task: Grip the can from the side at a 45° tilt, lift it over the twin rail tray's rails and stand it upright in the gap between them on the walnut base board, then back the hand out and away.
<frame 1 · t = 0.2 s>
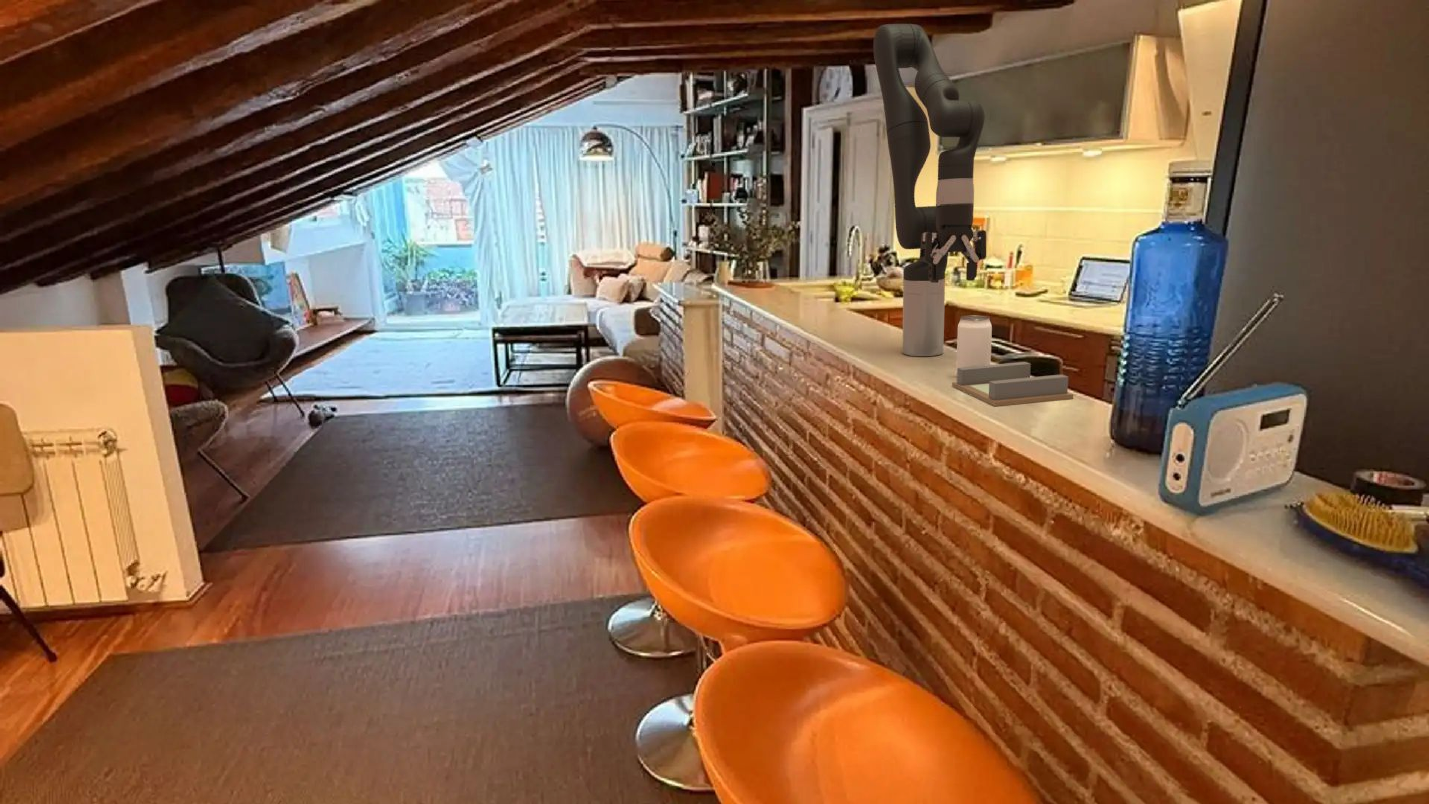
hand: (952, 281, 167), 18 cm above the counter, tool pointing down, fingers open, 8 cm apart
twin rail tray: (1009, 392, 147), on the counter
can: (973, 377, 160), on the counter
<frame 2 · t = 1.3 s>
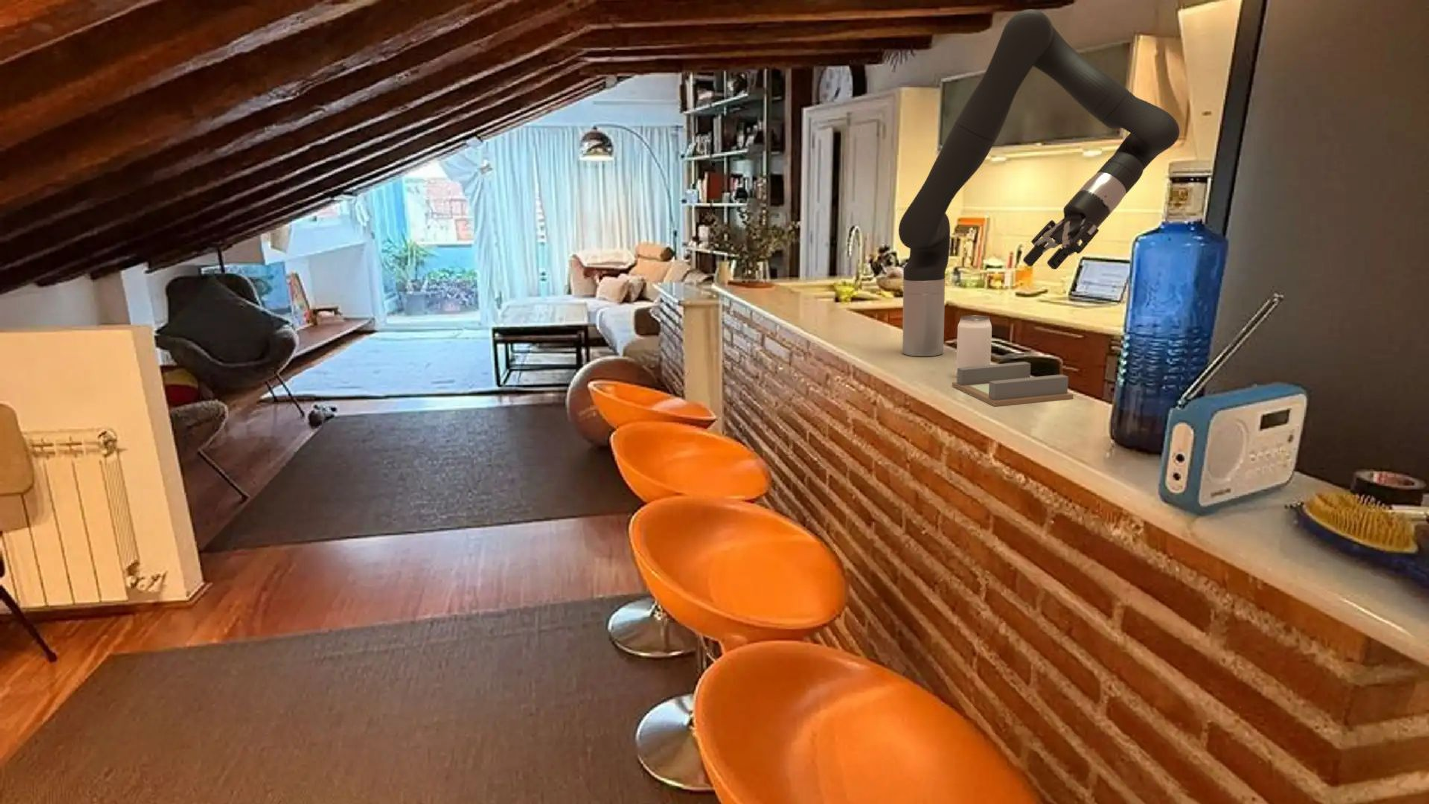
hand: (1038, 265, 157), 21 cm above the counter, tool tilted 45°, fingers open, 8 cm apart
nothing on the counter moved.
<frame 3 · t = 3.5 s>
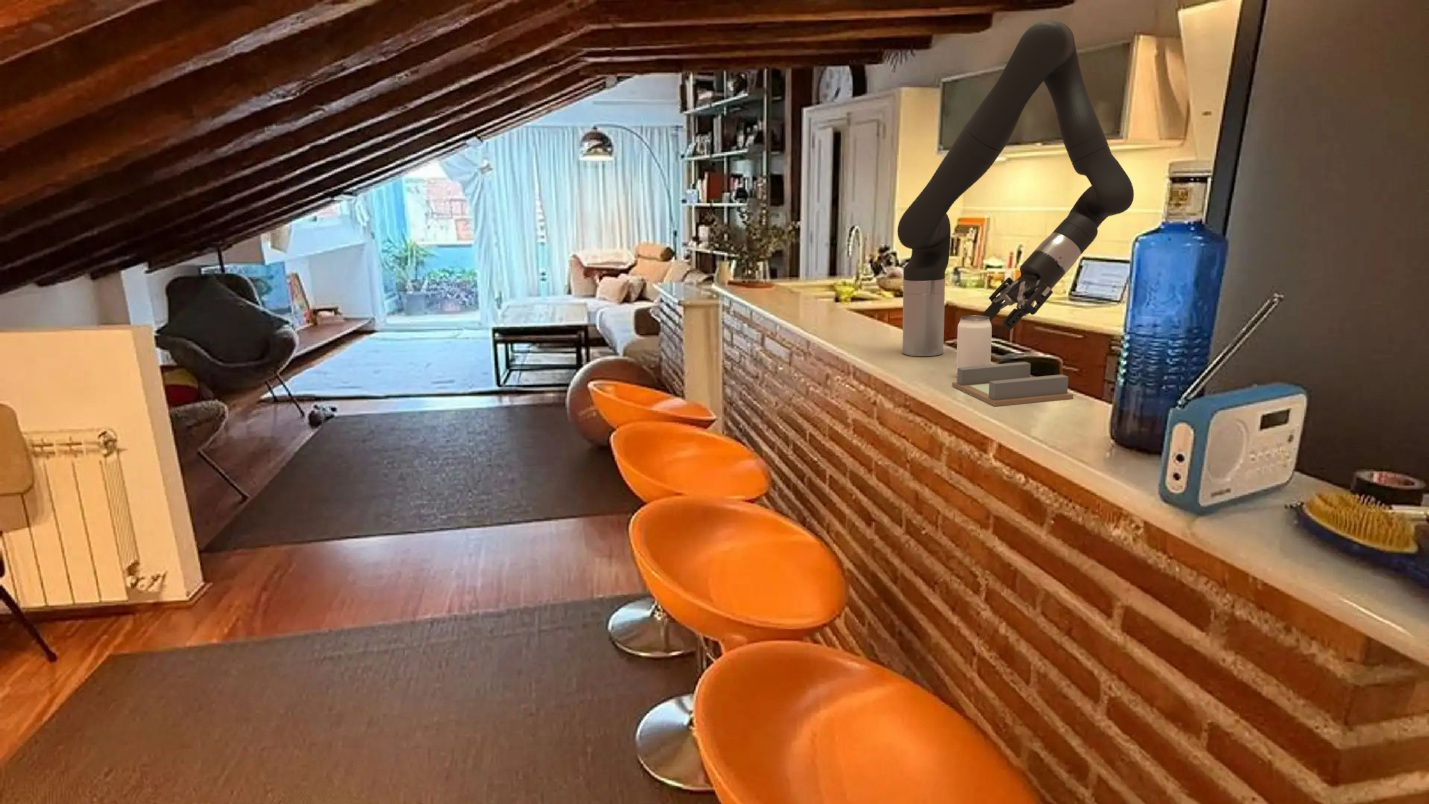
hand: (994, 323, 158), 10 cm above the counter, tool tilted 45°, fingers open, 8 cm apart
nothing on the counter moved.
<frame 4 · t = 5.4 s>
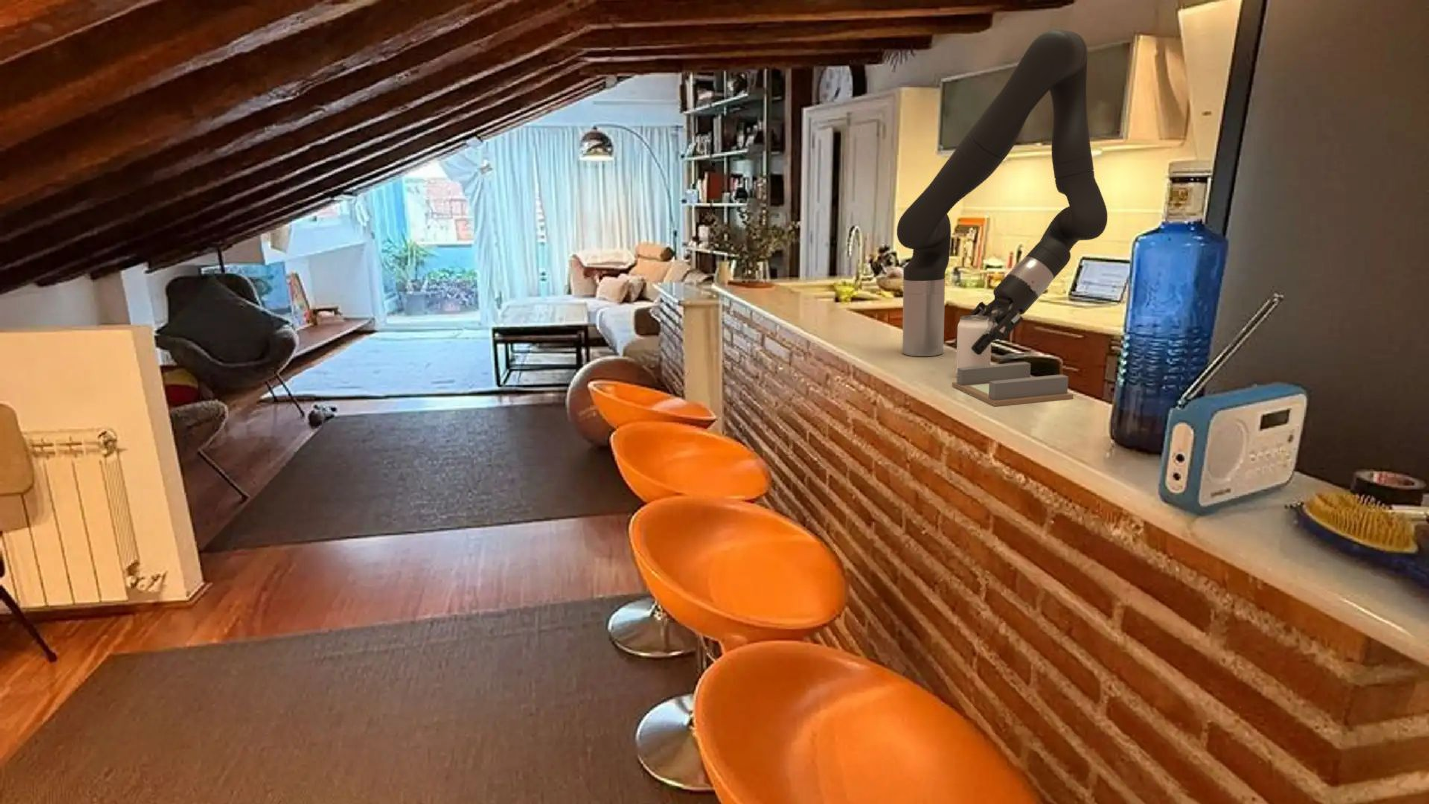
hand: (966, 348, 159), 6 cm above the counter, tool tilted 45°, fingers closed on can, 6 cm apart
can: (972, 377, 160), on the counter, touching gripper
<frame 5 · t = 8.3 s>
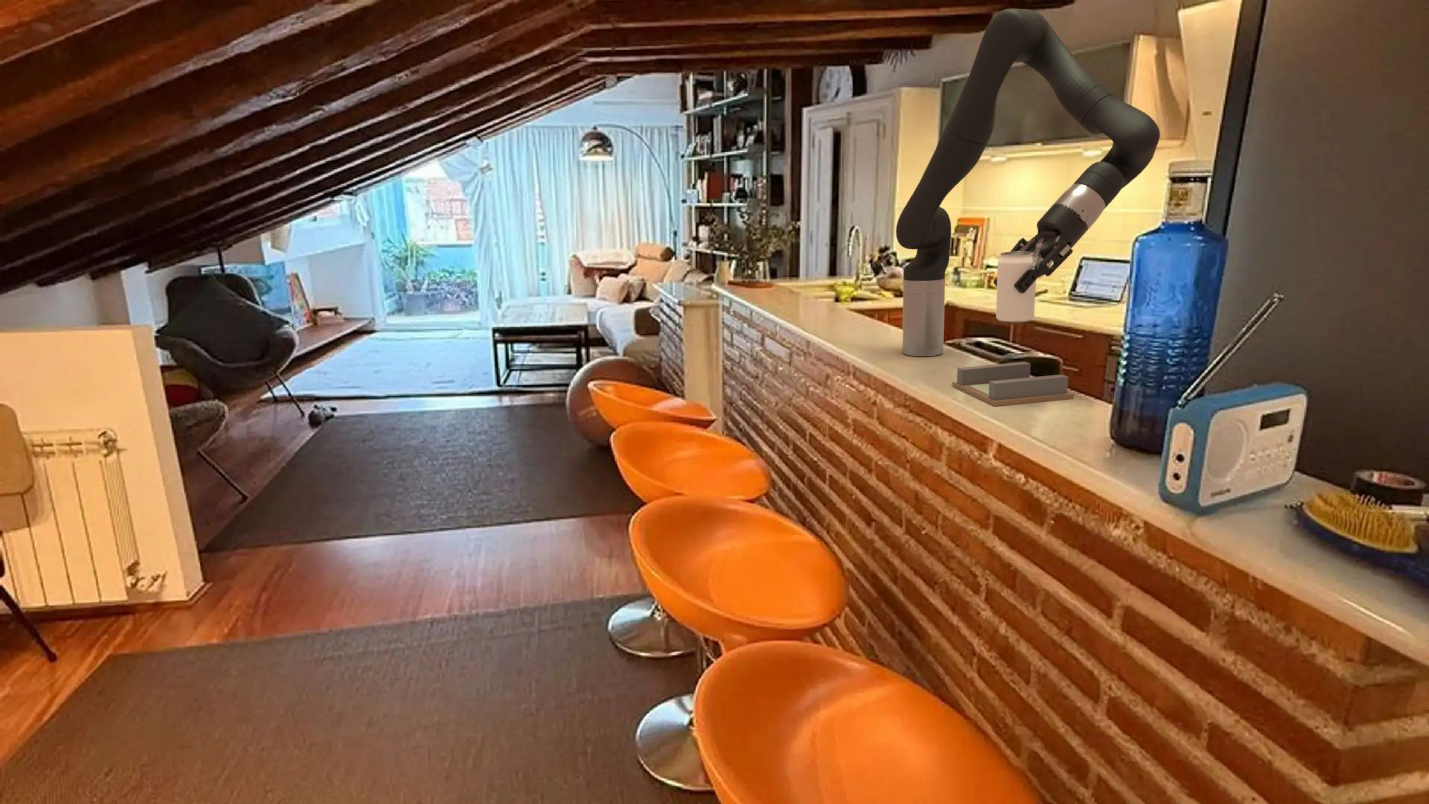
hand: (1007, 287, 142), 19 cm above the counter, tool tilted 45°, fingers closed on can, 6 cm apart
can: (1014, 321, 144), point 13 cm above the counter, touching gripper
when the fingers open (8 cm above the counter, at t = 11.4 s): can drops 1 cm, resting on twin rail tray.
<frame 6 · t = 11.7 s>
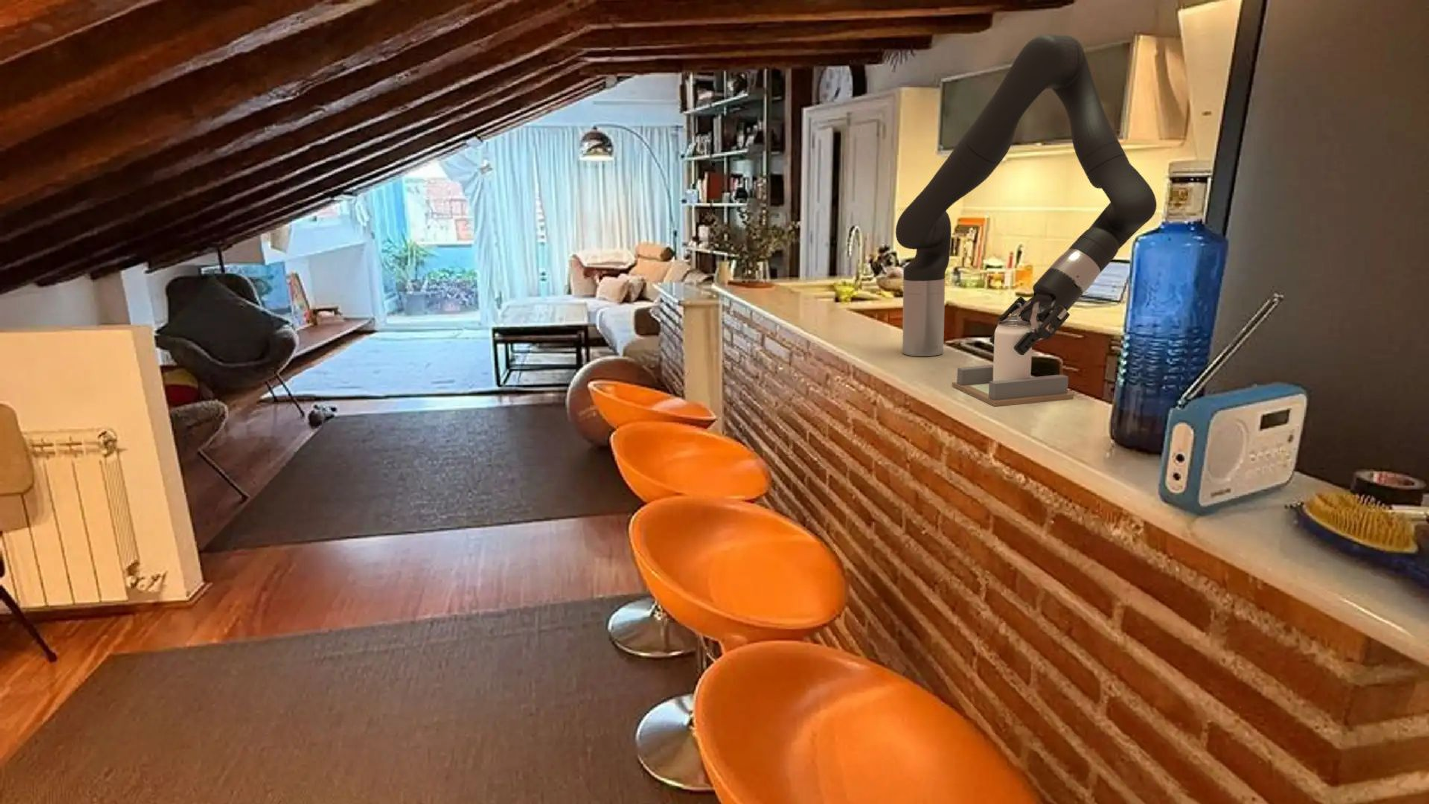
hand: (1005, 347, 145), 8 cm above the counter, tool tilted 45°, fingers open, 8 cm apart
can: (1011, 388, 147), point 1 cm above the counter, touching twin rail tray
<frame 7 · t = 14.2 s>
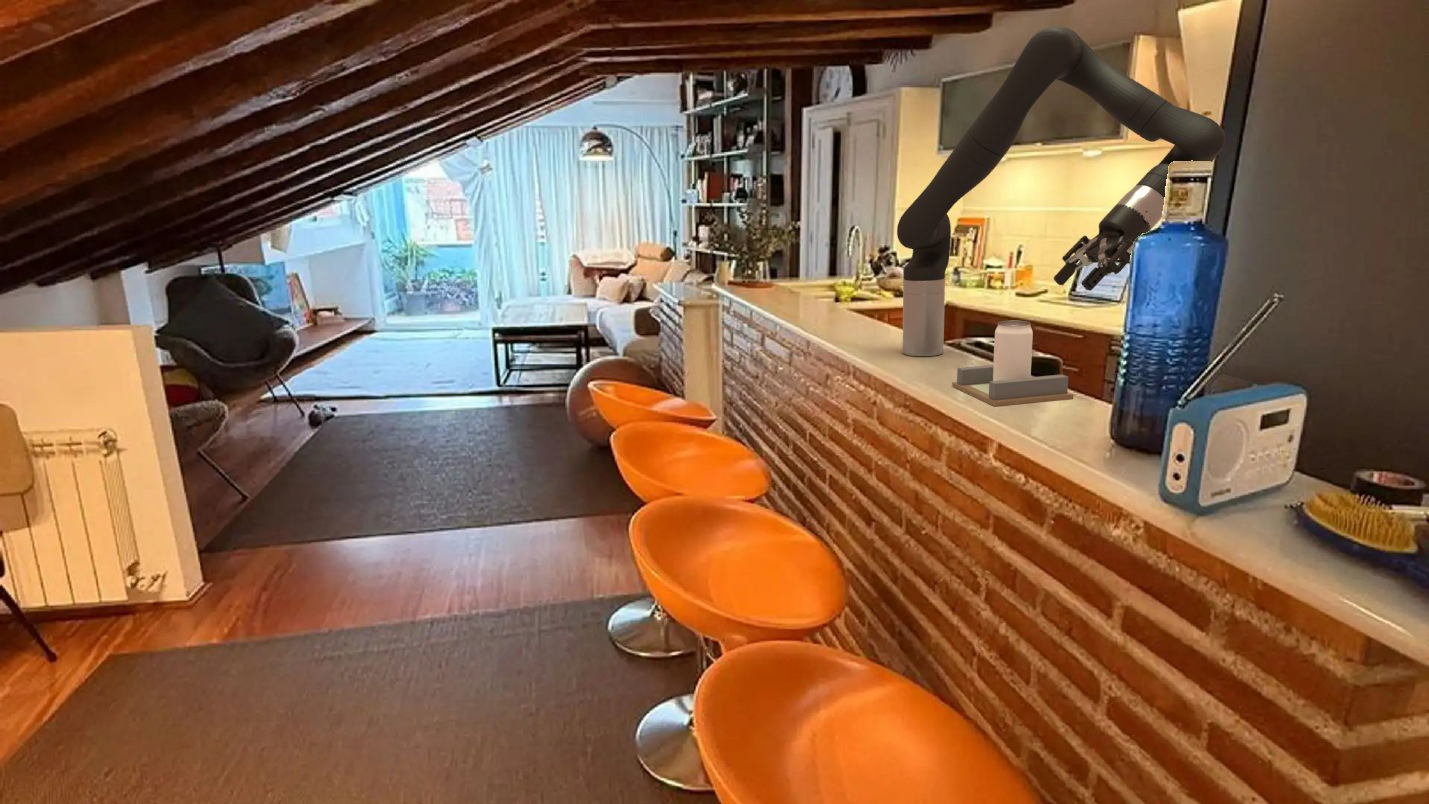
hand: (1070, 284, 145), 19 cm above the counter, tool tilted 45°, fingers open, 8 cm apart
nothing on the counter moved.
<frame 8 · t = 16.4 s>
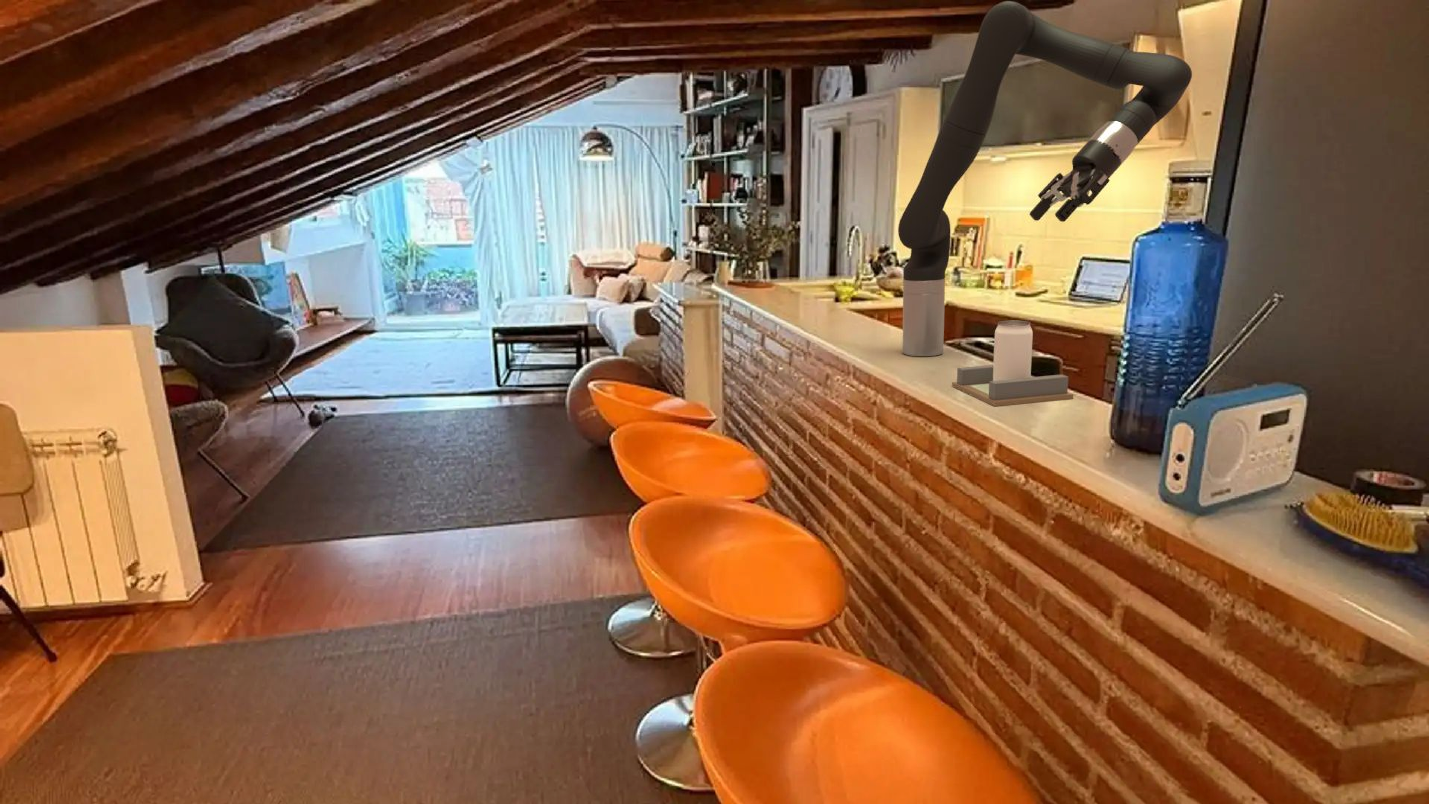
hand: (1045, 218, 151), 31 cm above the counter, tool tilted 45°, fingers open, 8 cm apart
nothing on the counter moved.
at the end: can inside the target area on the twin rail tray (0.2 cm from its centre), point 0.7 cm above the twin rail tray's base; can tilted 0°; the gripper is holding nothing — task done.
